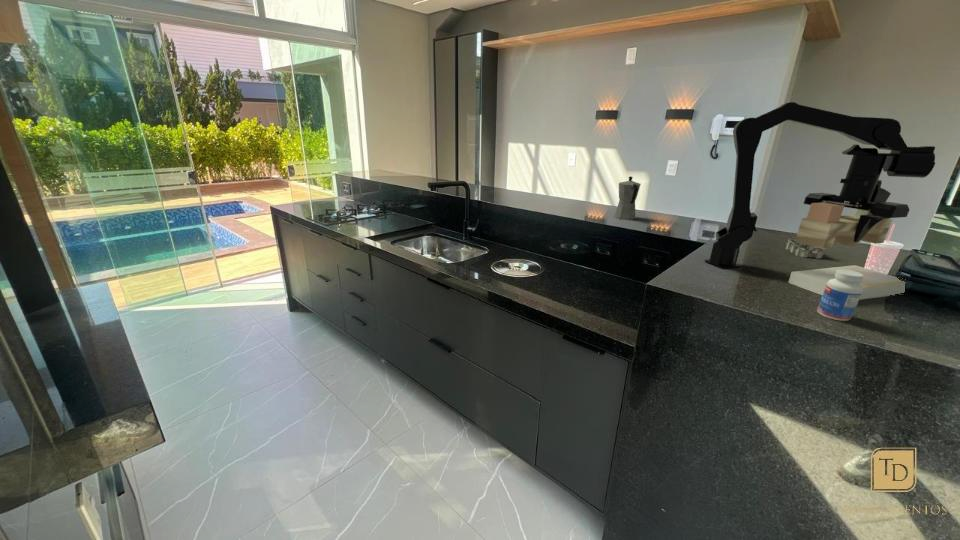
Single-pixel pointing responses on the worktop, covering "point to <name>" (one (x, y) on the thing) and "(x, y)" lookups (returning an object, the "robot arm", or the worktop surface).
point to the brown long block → (839, 232)
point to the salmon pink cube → (825, 212)
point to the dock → (872, 283)
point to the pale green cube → (862, 211)
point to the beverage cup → (883, 254)
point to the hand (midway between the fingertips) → (840, 238)
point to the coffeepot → (627, 199)
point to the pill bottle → (841, 295)
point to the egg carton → (804, 249)
